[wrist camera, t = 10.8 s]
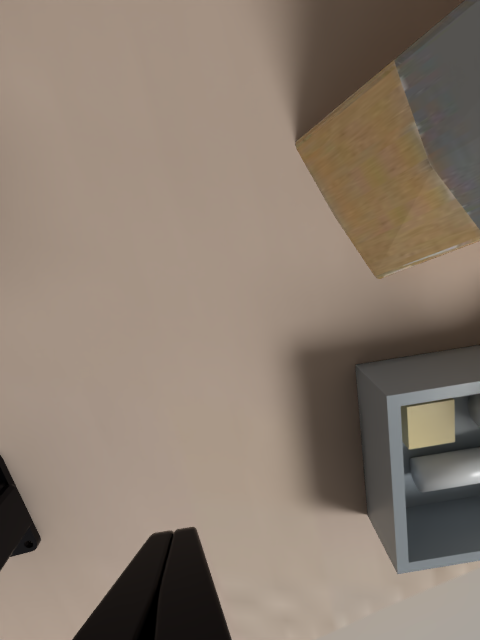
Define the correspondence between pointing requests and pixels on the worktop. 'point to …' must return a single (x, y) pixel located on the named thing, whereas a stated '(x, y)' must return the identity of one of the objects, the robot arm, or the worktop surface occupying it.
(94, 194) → the worktop surface
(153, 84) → the worktop surface
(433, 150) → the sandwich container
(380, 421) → the parts tub
